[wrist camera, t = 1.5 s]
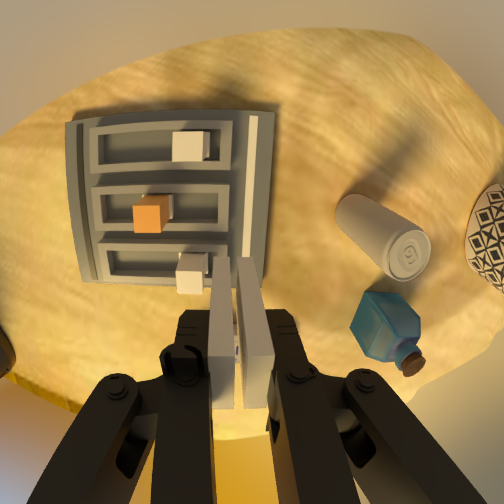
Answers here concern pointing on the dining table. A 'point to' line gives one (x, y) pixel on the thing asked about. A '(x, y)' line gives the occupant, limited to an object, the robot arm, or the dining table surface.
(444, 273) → the dining table surface
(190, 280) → the breaker far
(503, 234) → the planter
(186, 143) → the block
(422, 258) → the beverage can
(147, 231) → the block
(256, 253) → the panel
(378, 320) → the perfume bottle
